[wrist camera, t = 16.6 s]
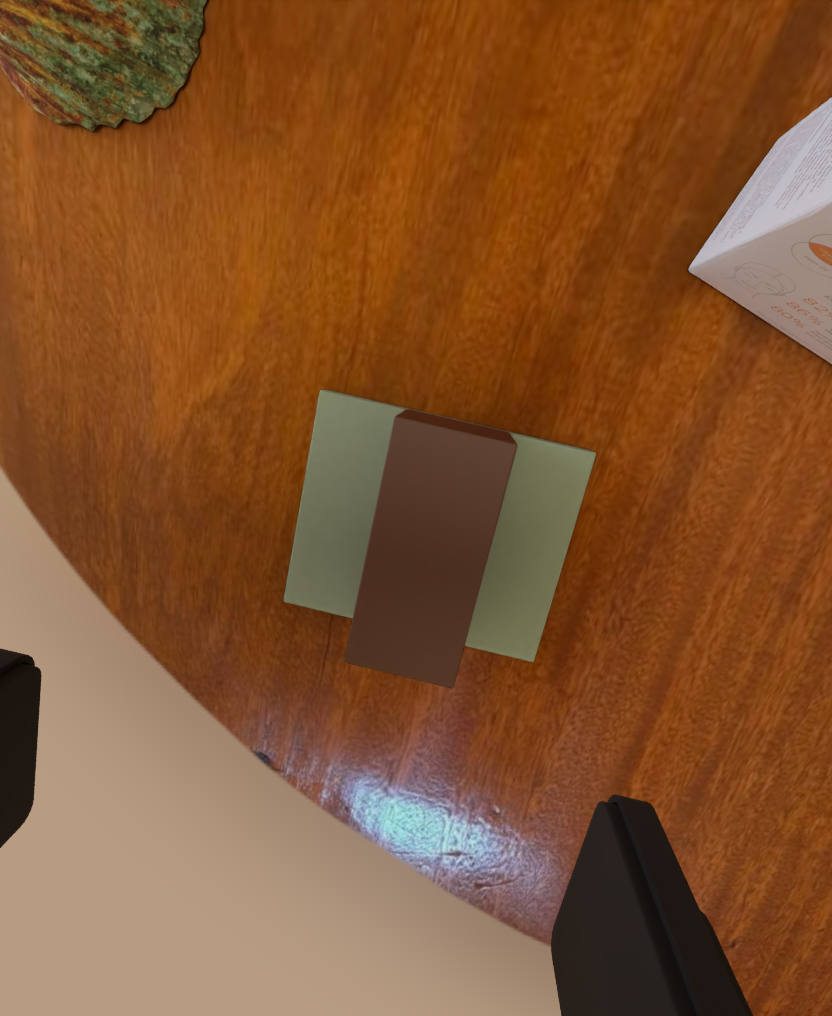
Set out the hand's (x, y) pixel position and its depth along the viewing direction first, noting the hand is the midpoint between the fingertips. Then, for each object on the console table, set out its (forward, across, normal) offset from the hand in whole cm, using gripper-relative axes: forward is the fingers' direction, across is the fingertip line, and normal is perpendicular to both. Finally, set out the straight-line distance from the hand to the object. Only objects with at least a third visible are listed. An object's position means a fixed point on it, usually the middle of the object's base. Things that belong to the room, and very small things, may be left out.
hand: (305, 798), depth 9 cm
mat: (+17, -1, 0) cm, 17 cm away
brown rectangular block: (+17, -1, 0) cm, 17 cm away
